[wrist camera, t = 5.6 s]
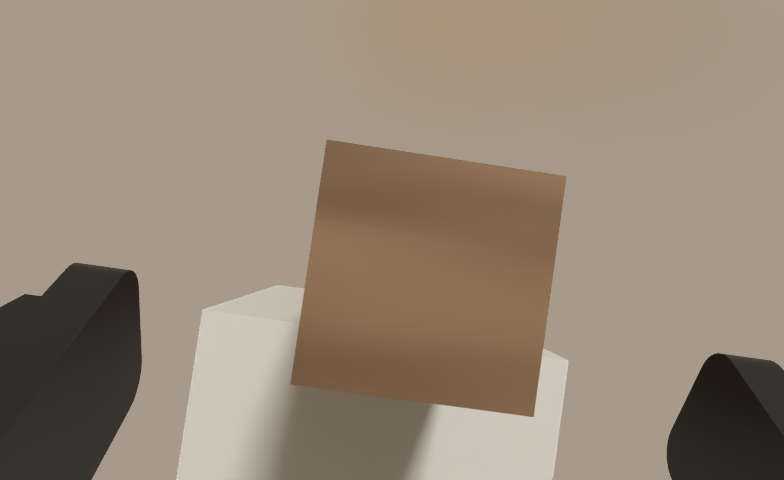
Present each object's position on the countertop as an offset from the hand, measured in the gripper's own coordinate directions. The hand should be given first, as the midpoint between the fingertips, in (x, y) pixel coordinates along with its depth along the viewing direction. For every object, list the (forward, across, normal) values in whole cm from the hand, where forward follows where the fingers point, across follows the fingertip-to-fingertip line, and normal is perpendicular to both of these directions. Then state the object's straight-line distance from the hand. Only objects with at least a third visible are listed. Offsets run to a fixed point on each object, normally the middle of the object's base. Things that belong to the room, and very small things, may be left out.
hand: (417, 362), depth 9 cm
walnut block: (+10, 0, +7) cm, 12 cm away
